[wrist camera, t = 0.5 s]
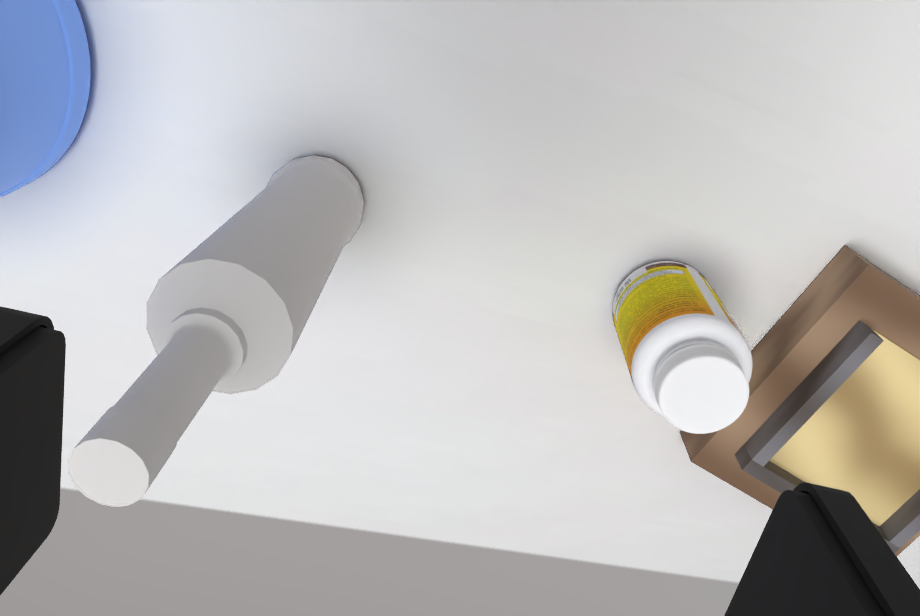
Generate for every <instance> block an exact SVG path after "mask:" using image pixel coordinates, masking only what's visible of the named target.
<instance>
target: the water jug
mask: <svg viewBox="0 0 920 616" xmlns="http://www.w3.org/2000/svg"><path fill="white" fill-rule="evenodd" d="M90 75H91V70H90V55H89V47H88V41H87V36H86V32H85V28H84V24H83V21H82V18H81V15H80V12H79V9H78V7H77V4H76V2H75V0H0V196H4V195H6V194H9V193H11V192H12V191H14V190H16V189H19V188H20V187H22V186H24V185H26V184H28V183H30V182H32V181H34V180H35V179H37V178H39V177H40V176H41V175H43V174H44V173H46V172H47V171H48V170H49V169H50V168H51V167H53V166H54V165H55V164H56V163H57V162H58V161H59V160H60V158H61V157H62V156H63V155H64V154H65V152H66V151H67V150H68V148H69V147H70V145H71V144H72V142H73V140H74V139H75V137H76V135H77V133H78V131H79V128H80V126H81V124H82V121H83V118H84V115H85V111H86V108H87V103H88V98H89V91H90Z"/></svg>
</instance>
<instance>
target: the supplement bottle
mask: <svg viewBox="0 0 920 616" xmlns="http://www.w3.org/2000/svg"><path fill="white" fill-rule="evenodd" d="M612 314H613V321H614V325H615V328H616V332H617V334H618V338H619V341H620V344H621V347H622V350H623V353H624V356H625V359H626V363H627V365H628V369H629V372H630V375H631V379H632V382H633V385H634V387H635V389H636V392H637V394H638V396H639V397H640V399H641V400H642V401H643V402H644V404H645V405H646V406H647V407H648V408H650V409H651V410H652V411H654V412H655V413H657V414H659V415H660V416H663V417H665V418H666V419H667V421H668V422H670V423H671V424H672V425H673V426H674V427H676V428H678V429H680V430H682V431H685V432H689V433H694V434H706V433H712V432H716V431H719V430H721V429H723V428H725V427H727V426H729V425H730V424H732V423H733V422H734V421H735V420H736V419H737V418H738V417H739V416H740V415H741V414H742V412H743V411H744V409H745V407H746V405H747V402H748V399H749V381H750V378H751V374H752V365H753V364H752V355H751V351H750V348H749V346H748V343H747V341H746V340H745V338H744V336H743V335H742V333H741V331H740V330H739V328H738V327H737V325H736V324H735V322H734V321H733V319H732V318H731V316H730V315H729V313H728V311H727V310H726V308H725V307H724V305H723V304H722V302H721V301H720V299H719V298H718V296H717V295H716V293H715V292H714V290H713V289H712V287H711V286H710V284H709V283H708V281H707V280H706V279H705V278H704V277H703V276H702V275H701V274H700V273H699V272H698V271H697V270H695V269H694V268H692V267H690V266H688V265H685V264H682V263H679V262H673V261H660V262H654V263H650V264H647V265H644V266H642V267H640V268H638V269H637V270H635V271H634V272H632V273H631V274H630V275H629V276H628V277H627V278H626V279H625V280H624V281H623V282H622V284H621V285H620V287H619V288H618V290H617V292H616V295H615V298H614V301H613V309H612Z"/></svg>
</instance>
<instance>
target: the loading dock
mask: <svg viewBox="0 0 920 616" xmlns="http://www.w3.org/2000/svg"><path fill="white" fill-rule="evenodd" d="M751 355H752V364H753V365H752V374H751V378H750V381H749V399H748V402H747V405H746V407H745V409H744V411H743V412H742V414H741V415H740V416H739V417H738V418H737V419H736V420H735V421H734V422H733V423H732V424H730V425H729V426H727V427H725V428H723V429H721V430H719V431H716V432H712V433H706V434H694V433H689V432H685V431H681V432H680V434H681V437H682V439H683V442H684V444H685V447H686V450H687V452H688V455H689V458H690V460H691V462H693V463H694V464H696V465H698V466H700V467H701V468H703V469H705V470H706V471H708V472H710V473H712V474H713V475H715V476H717V477H718V478H720V479H722V480H724V481H725V482H727V483H729V484H730V485H732V486H734V487H736V488H737V489H739V490H741V491H742V492H744V493H746V494H748V495H749V496H751V497H753V498H754V499H756V500H758V501H759V502H761V503H763V504H765V505H766V506H768V507H770V508H771V509H774V507H775V504H776V502H777V500H778V498H779V497H780V495H781V494H782V493H783V492H784V491H786V490H792V491H793V490H794V488H795V487H796V486H798V485H799V484H800V483H803V482H807V483H812V484H816V485H821V486H825V487H830V488H834V489H839V490H844V491H847V492H850V493H851V494H852V495H853V496H854V497H855V499H856V500H857V502H858V503H859V504H860V506H861V507H862V509H863V510H864V512H865V513H866V514H867V516H868V517H869V519H870V520H871V521H872V523H873V524H874V526H875V527H876V529H877V530H878V531H879V533H880V534H881V536H882V537H883V538H884V540H885V541H886V543H887V544H888V546H889V547H890V548H891V550H892V551H893V553H894V554H895V555H896V556H898V555H899V554H900V553H901V552H902V551H903V550H904V549H905V548H906V547H907V546H909V545H910V544H911V543H912V542H913V541H914V540H915V539H916V538H917V537H919V536H920V296H919V295H918V294H917V293H915V292H914V291H912V290H911V289H909V288H908V287H906V286H905V285H903V284H902V283H900V282H899V281H897V280H896V279H894V278H893V277H891V276H890V275H888V274H887V273H885V272H884V271H882V270H881V269H879V268H878V267H876V266H875V265H873V264H872V263H870V262H869V261H867V260H866V259H864V258H863V257H861V256H860V255H858V254H857V253H855V252H854V251H853V250H851V249H850V248H848V247H847V246H844V247H843V248H842V249H841V250H840V251H839V253H838V254H837V255H836V256H835V257H834V258H833V259H832V261H831V262H830V263H829V264H828V265H827V266H826V267H825V268H824V270H823V271H822V272H821V273H820V274H819V275H818V276H817V278H816V279H815V280H814V281H813V282H812V283H811V284H810V285H809V287H808V288H807V289H806V290H805V291H804V292H803V293H802V295H801V296H800V297H799V298H798V299H797V300H796V301H795V303H794V304H793V305H792V306H791V307H790V308H789V309H788V310H787V312H786V313H785V314H784V315H783V316H782V317H781V318H780V320H779V321H778V322H777V323H776V324H775V325H774V326H773V327H772V329H771V330H770V331H769V332H768V333H767V334H766V335H765V337H764V338H763V339H762V340H761V341H760V342H759V343H758V345H757V346H756V347H755V348H754V349H753V350H752V351H751Z"/></svg>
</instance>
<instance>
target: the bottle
mask: <svg viewBox="0 0 920 616" xmlns="http://www.w3.org/2000/svg"><path fill="white" fill-rule="evenodd" d="M363 207H364V200H363V196H362V192H361V189H360V185H359V183H358V181H357V180H356V179H355V177H354V176H353V175H352V173H351V172H350V171H349V169H348V168H346V167H345V166H343V165H342V164H340V163H338V162H337V161H335V160H334V159H332V158H326V157H321V156H316V155H311V156H307V157H302V158H297V159H293V160H292V161H290V162H289V163H287V164H286V165H285V166H283V167H282V168H281V169H279V170H278V171H276V172H275V173H274V174H273V176H272V177H271V179H270V181H269V183H268V185H267V186H266V188H265V189H264V190H263V191H262V192H261V193H260V194H258V195H257V196H256V197H255V198H254V199H253V200H251V201H250V202H249V203H248V204H247V205H246V206H244V207H243V208H242V209H241V210H240V211H239V212H237V213H236V214H235V215H234V216H233V217H232V218H230V219H229V220H228V221H227V222H226V223H225V224H223V225H222V226H221V227H220V228H219V229H218V230H216V231H215V232H214V233H213V234H212V235H211V236H209V237H208V238H207V239H206V240H205V241H204V242H203V243H201V244H200V245H199V246H198V247H197V248H196V249H194V250H193V251H192V252H191V253H190V254H189V255H187V256H186V257H185V258H184V259H183V260H182V261H180V262H179V263H178V264H177V265H176V266H175V267H173V268H172V269H171V270H170V271H169V272H168V273H166V274H165V275H164V276H163V277H162V278H161V279H159V281H158V283H157V285H156V286H155V288H154V290H153V292H152V294H151V296H150V298H149V300H148V302H147V331H148V333H149V336H150V338H151V341H152V343H153V346H154V348H155V351H156V353H157V355H158V356H157V357H156V358H155V359H154V360H153V362H152V363H151V364H150V365H149V366H148V367H147V369H146V370H145V371H144V372H143V373H142V374H141V376H140V377H139V378H138V379H137V380H136V381H135V382H134V384H133V385H132V386H131V387H130V388H129V389H128V391H127V392H126V393H125V394H124V395H123V396H122V398H121V399H120V400H119V401H118V402H117V403H116V404H115V405H114V406H113V407H111V408H110V409H108V410H107V412H106V413H105V414H104V415H103V416H102V417H101V418H100V419H99V421H98V422H97V423H96V424H95V425H94V426H93V427H92V429H91V430H90V431H89V432H88V433H87V434H86V435H85V437H84V438H83V439H82V440H81V441H80V442H79V443H78V444H77V446H76V447H75V448H74V449H73V451H72V453H71V455H70V457H69V459H68V473H69V475H70V477H71V479H72V481H73V483H74V485H75V487H76V488H78V489H79V490H80V491H81V492H82V493H83V494H84V495H85V496H86V497H87V498H90V499H92V500H93V501H96V502H97V503H100V504H102V505H108V506H114V507H119V506H126V505H131V504H133V503H134V502H136V501H138V500H139V499H141V498H142V497H143V496H144V494H145V493H146V491H147V490H148V488H149V487H150V485H151V484H152V482H153V481H154V479H155V478H156V476H157V475H158V473H159V472H160V470H161V469H162V467H163V466H164V464H165V463H166V461H167V460H168V458H169V457H170V455H171V454H172V452H173V450H174V449H175V447H176V443H177V441H178V440H179V439H180V437H181V436H182V434H183V433H184V431H185V430H186V428H187V427H188V425H189V424H190V422H191V421H192V420H193V418H194V417H195V415H196V414H197V412H198V411H199V409H200V408H201V406H202V405H203V403H204V402H205V401H206V399H207V398H208V396H209V395H210V393H211V392H212V391H215V392H220V393H226V394H233V393H239V392H245V391H251V390H256V389H258V388H259V387H261V386H262V385H264V384H266V383H267V382H269V381H270V380H272V379H273V378H275V377H276V376H278V374H279V373H280V371H281V369H282V368H283V366H284V365H285V363H286V361H287V360H288V358H289V357H290V355H291V353H292V351H293V349H294V347H295V345H296V343H297V341H298V339H299V337H300V334H301V332H302V330H303V328H304V326H305V324H306V322H307V320H308V318H309V316H310V314H311V312H312V310H313V308H314V306H315V304H316V302H317V300H318V298H319V296H320V293H321V291H322V289H323V287H324V285H325V283H326V281H327V279H328V277H329V275H330V273H331V271H332V269H333V267H334V265H335V263H336V261H337V259H338V257H339V255H340V252H341V250H342V248H343V246H345V245H346V244H348V243H349V242H350V241H351V239H352V238H353V236H354V234H355V233H356V231H357V230H358V228H359V226H360V224H361V221H362V214H363Z"/></svg>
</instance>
